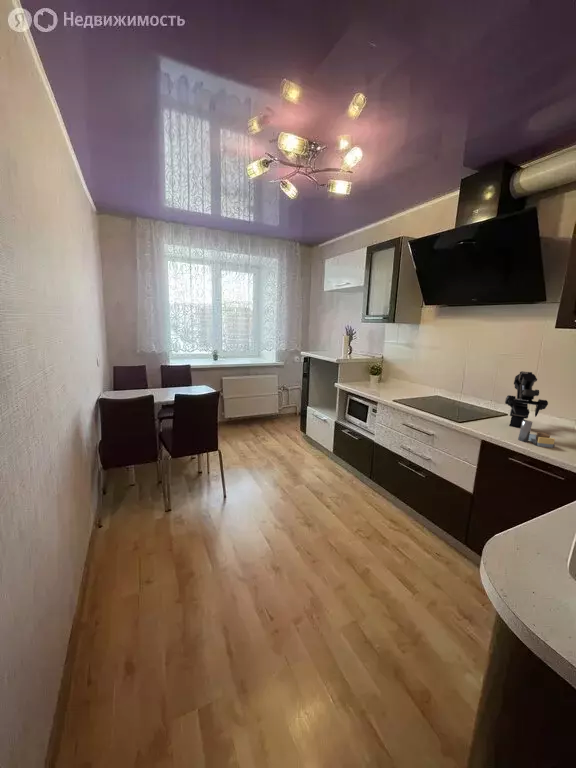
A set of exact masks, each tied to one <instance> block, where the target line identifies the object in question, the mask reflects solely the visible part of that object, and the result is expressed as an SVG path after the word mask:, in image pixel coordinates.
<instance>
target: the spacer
mask: <svg viewBox="0 0 576 768" xmlns="http://www.w3.org/2000/svg"><path fill="white" fill-rule="evenodd" d="M532 427H533V421H531V420H527V419H524V420H522V424H521V428H519V434H518V441H519V442H521V443H528V442H529V441H530V440H529V435H530V434H531V431H532Z"/></svg>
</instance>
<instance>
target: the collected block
mask: <svg viewBox="0 0 576 768" xmlns="http://www.w3.org/2000/svg"><path fill="white" fill-rule="evenodd" d="M535 435H536V440H537V441H538V437H545V438H551V435H550V434H548V433H546V432H539V431H537V432H536V434H535Z"/></svg>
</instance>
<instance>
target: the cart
mask: <svg viewBox="0 0 576 768" xmlns="http://www.w3.org/2000/svg"><path fill="white" fill-rule="evenodd" d="M536 435H537V434H535V433H534V434H533V433H530V435H529V440H528V441H529V442H531V443H532V444H533V445H534V446H537V447H542V448H550V449H551V448H552V449H553V448H554V447H555V441H556V439H555V438H553V437H550V438H545V437H538V441H537V440H536Z"/></svg>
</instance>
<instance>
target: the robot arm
mask: <svg viewBox="0 0 576 768" xmlns="http://www.w3.org/2000/svg"><path fill="white" fill-rule="evenodd" d="M536 382H538V378H537V377H536V375H535V374H534V373H533V372H532V371H519V373H518V374H516V375H515V377H514V380H513V385H514V389H515V390H516V395H510V394H509V395H508V394H507V395H506V397H505V400H504V404H506V405H507V406H509V407H510V410H509V411H510V412H509V416H510V422H509V424H508V426H509V427H515V428H517V429H521V424H522V420H527V419H528V418H529V414H530V413H531V412H530V409H529V408H528V405H532V406H535V408H534V409H535V410H534V417H535V418H536V417H537V416H538V415H539V412H540V411H542V410H545V409H546V408H547V406H548V405H549V401H548V400H547V399H541V398H539V399H538V400H537V401H535V400H534V399H535V397H538V396H540V390H539V389H533V386H534V384H535V383H536Z"/></svg>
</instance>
